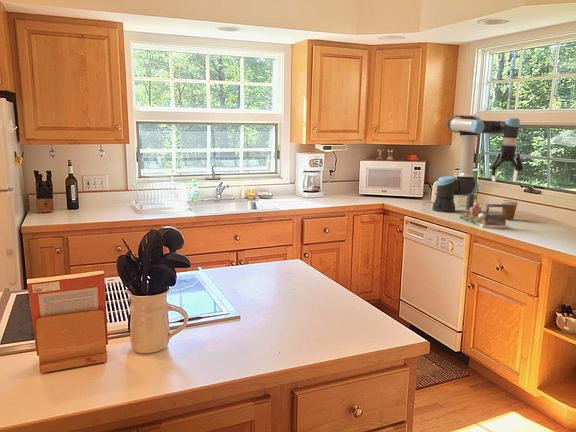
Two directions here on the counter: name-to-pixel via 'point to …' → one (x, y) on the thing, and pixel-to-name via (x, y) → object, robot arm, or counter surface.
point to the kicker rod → (469, 205)
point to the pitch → (488, 218)
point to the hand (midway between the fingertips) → (504, 181)
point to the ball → (481, 216)
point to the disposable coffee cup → (509, 208)
